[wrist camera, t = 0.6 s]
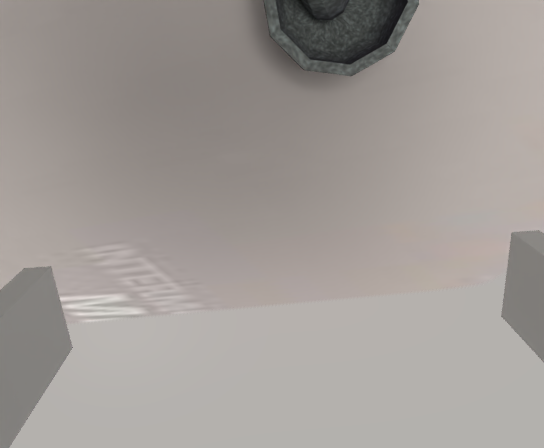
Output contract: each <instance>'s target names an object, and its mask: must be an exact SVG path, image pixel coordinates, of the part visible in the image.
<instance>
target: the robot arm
mask: <svg viewBox="0 0 544 448" xmlns="http://www.w3.org/2000/svg"><path fill="white" fill-rule="evenodd" d="M502 317H503V319H505V321H506V322H507V323H508V324H509V325H510V326H511V327H512V328H513V329H514V331H515V332H516V333H517V334H518V335H519V336H520V337H521V338H522V339H523V340H524V341H525V342H526V343H527V345H528V346H529V347H530V348H531V349H532V350H533V351H534V352H535V353H536V354H537V355H538V357H539V358H540V359H541V360H542V361H543V362H544V234H543V233H542V232H540V231H539V230H538V231H525V232H512V234H511V242H510V250H509V259H508V267H507V275H506V283H505V292H504V299H503V308H502ZM72 348H73V347H72V344H71V340H70V336H69V332H68V329H67V325H66V321H65V317H64V313H63V310H62V306H61V302H60V298H59V295H58V291H57V287H56V283H55V279H54V276H53V272H52V268H51V266H50V267H36V268H24V269H23V270H22V271H21V272H20V273H19V274H17V275H16V276H15V277H14V278H13V279H12V280H11V281H10V282H9V283H8V284H7V285H5V286H4V287H3V288H2V289H1V290H0V448H9V447H10V445H11V444H12V442H13V441H14V439H15V438H16V436H17V434H18V433H19V431H20V430H21V428H22V427H23V425H24V423H25V422H26V420H27V419H28V417H29V416H30V414H31V412H32V411H33V409H34V408H35V406H36V404H37V403H38V401H39V400H40V398H41V397H42V395H43V393H44V392H45V390H46V389H47V387H48V386H49V384H50V383H51V381H52V379H53V378H54V376H55V375H56V373H57V372H58V370H59V368H60V367H61V365H62V364H63V362H64V361H65V359H66V357H67V356H68V354H69V353H70V351H71V350H72Z"/></svg>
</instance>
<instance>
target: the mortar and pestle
mask: <svg viewBox="0 0 544 448" xmlns="http://www.w3.org/2000/svg"><path fill="white" fill-rule="evenodd" d="M418 5H419V0H264V6H265V11H266V16H267V22H268V27H269V33H270V37H271V38H272V39H273V40H274V41H275V42H276V43H277V44H278V45H279V46H280V47H281V48H282V49H283V50H284V51H285V52H286V53H287V54H288V55H289V56H290V57H291V58H292V59H293V60H294V61H295V62H296V63H297V64H298V65H299V66H300V67H301V68H302V69H303V70H307V71H315V72H323V73H331V74H339V75H347V76H353V75H354V74H356V73H358V72H360V71H361V70H363V69H365V68H367V67H368V66H370V65H372V64H374V63H375V62H377V61H379V60H381V59H382V58H384V57H386V56H388V55H389V54H391V53H393V52H395V50H396V48H397V46H398V44H399V42H400V40H401V38H402V36H403V34H404V32H405V30H406V28H407V26H408V24H409V22H410V20H411V19H412V17H413V15H414V13H415V11H416V9H417V7H418Z"/></svg>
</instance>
